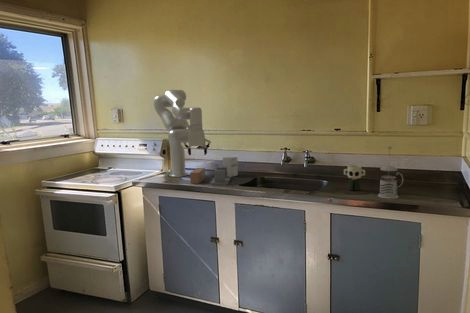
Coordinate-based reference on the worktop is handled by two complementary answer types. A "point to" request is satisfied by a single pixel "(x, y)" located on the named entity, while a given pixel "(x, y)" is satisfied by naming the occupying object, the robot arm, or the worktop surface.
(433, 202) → the worktop surface
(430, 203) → the worktop surface
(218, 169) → the display stand
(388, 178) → the french press
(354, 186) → the big eared toy figure
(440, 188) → the worktop surface
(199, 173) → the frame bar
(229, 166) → the supplement box
